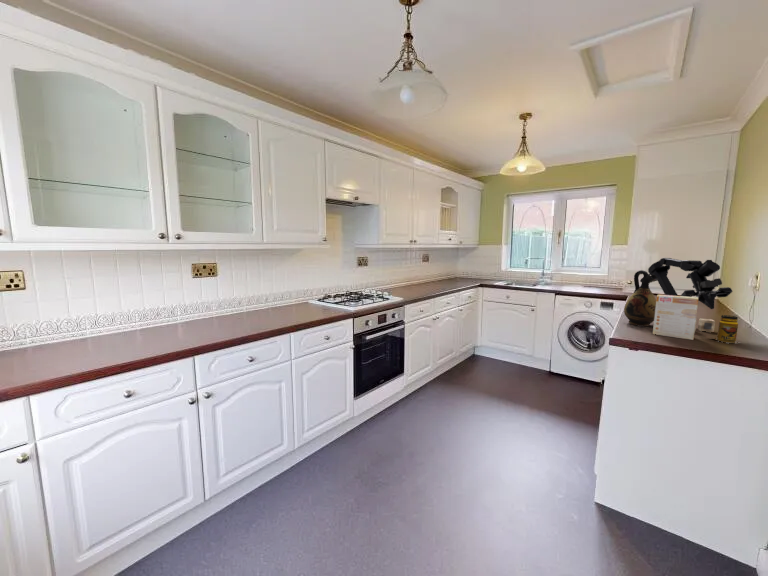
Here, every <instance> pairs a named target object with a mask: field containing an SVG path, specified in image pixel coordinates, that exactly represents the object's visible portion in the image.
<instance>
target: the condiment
mask: <svg viewBox="0 0 768 576" xmlns="http://www.w3.org/2000/svg"><path fill="white" fill-rule="evenodd" d="M738 319H739V318H738V316H736V315H729V314H727V315H726V314H722V315H721V317H720V320H719V323H718V330H717V337H716V338H717V340H718V341H717V342H719V341H721V342H720V343H723V342H726V343H725V344H729V343H735V342H738V341H737V335H738V329H739V323H738ZM735 344H736V343H735ZM737 344H741V342H738V343H737Z"/></svg>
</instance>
